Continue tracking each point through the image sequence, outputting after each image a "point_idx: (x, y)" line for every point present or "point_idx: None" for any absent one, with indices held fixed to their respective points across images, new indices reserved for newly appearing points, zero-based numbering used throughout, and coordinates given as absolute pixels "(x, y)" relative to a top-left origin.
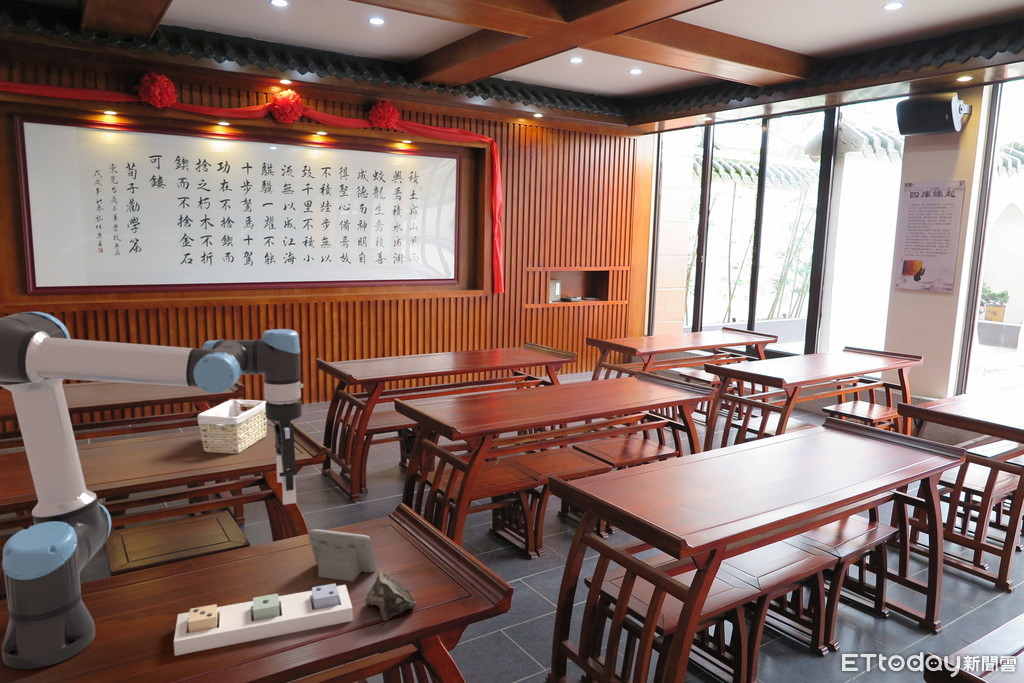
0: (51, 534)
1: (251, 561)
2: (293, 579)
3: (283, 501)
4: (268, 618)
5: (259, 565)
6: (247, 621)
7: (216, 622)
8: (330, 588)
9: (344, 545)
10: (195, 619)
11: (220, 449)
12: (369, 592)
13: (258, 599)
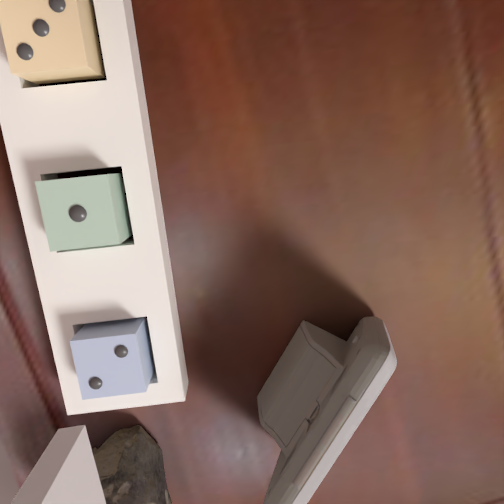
0: None
1: (449, 137)
2: (308, 258)
3: (47, 448)
4: None
5: (417, 163)
6: (41, 164)
7: (34, 77)
8: (119, 380)
9: (301, 438)
10: (5, 9)
11: None
12: (117, 458)
13: (94, 191)
